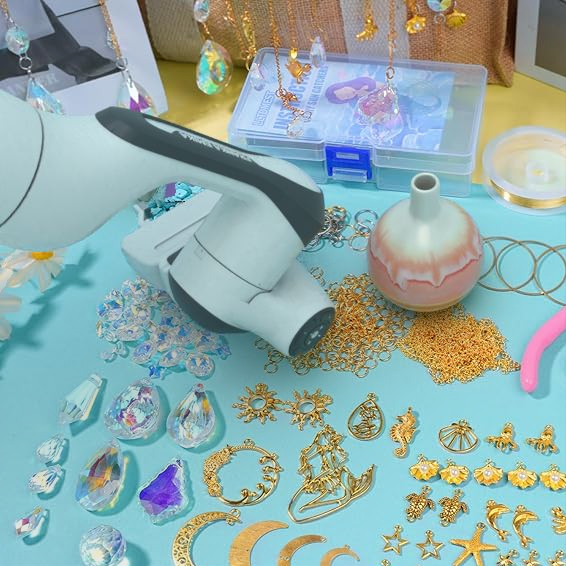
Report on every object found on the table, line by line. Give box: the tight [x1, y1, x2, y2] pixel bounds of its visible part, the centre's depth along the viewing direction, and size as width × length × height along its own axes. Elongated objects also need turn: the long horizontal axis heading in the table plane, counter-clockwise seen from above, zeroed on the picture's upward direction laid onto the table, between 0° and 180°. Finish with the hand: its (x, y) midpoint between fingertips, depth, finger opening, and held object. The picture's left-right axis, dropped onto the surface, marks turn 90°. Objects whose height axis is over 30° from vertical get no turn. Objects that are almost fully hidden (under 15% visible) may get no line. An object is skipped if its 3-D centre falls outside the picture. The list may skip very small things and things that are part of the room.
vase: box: [365, 171, 485, 313], centre depth 94 cm, size 14×14×18 cm
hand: (171, 187), depth 103 cm, fingers open, 8 cm apart
